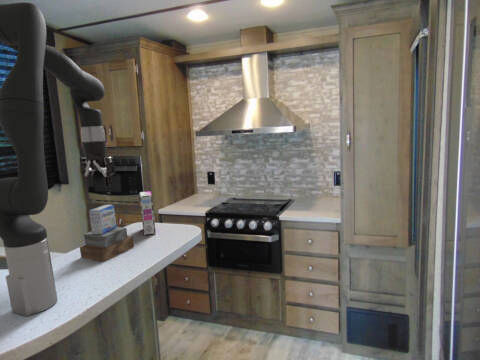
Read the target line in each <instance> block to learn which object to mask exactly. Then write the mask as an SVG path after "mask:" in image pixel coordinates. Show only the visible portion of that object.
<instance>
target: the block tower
mask: <svg viewBox="0 0 480 360" xmlns="http://www.w3.org/2000/svg"><path fill="white" fill-rule="evenodd" d="M83 236H84V243H85V244H83V245H81V246H79V251H80V258H82V259H87V260H93V261H97V262H106V261H108V260H110V259H113V258H114V257H117V256H119V255H121V254H123V253H124V252H126V251H129V250H131V249H134V247H135V245H134V237H133V236H128V229H127V227H122V226H116V228H114V229H112V230H111V231H109V232H107V233H105V234H92V230H91V231H89V232H86V233H83Z"/></svg>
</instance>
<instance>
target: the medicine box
mask: <svg viewBox="0 0 480 360" xmlns="http://www.w3.org/2000/svg"><path fill="white" fill-rule="evenodd" d="M88 213H89V219H90V227H91V231H92V234H105V233H107V232H109V231H111V230H112V229H114V228H116V227H117V221H116V214H115V206H114V205H113V204H103V205H100V206H98V207H95V208H91V209H90V210H89V211H88Z"/></svg>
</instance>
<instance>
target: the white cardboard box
mask: <svg viewBox="0 0 480 360" xmlns="http://www.w3.org/2000/svg"><path fill="white" fill-rule="evenodd" d="M139 202H140V203H139V204H140V205H139V206H140V213H141V221H142V230H143V236H144V237H145V236H151V235H152V236H153V235H156V225H155V223H156V222H155V213H154V204H153V203H154V202H153V195H152V191H150V190H149V191H140V192H139Z"/></svg>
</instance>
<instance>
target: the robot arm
mask: <svg viewBox="0 0 480 360" xmlns="http://www.w3.org/2000/svg"><path fill="white" fill-rule="evenodd" d="M45 19H46V18H45V16H44V14H43V13H42V11H41V9H40V8H39V7H38V6H37V5H36V4H34V3H31V2H13V3H3V4H0V42H1V43H2V44H3V45H5V46H7V47H9V48H11V49H12V50H14V51H15V52H17V56H16V60H15V62H14V64H13V67H12V68H11V69H10V71H9V72H8V74H7V77H6V78H5V79H4V81H3V83H2V85H1V88H0V127H1V129H2V131H3V133H4V134H5V137H6V138H7V139H8V141H9V143H10V144H11V146H12V148H13V150H14V152H15V155H16V159H17V176H14V177H12V176H11V177H3V178H0V239H1V240H2V242H3V243H2V244H3V247H4V254H5V258H6V263H7V264H6V265H7V269H8V274H7V275H6V276H5V280H6V288H7V291H8V298H9V301H10V307H11V313H15V314H18V315H21V316H24V317H29V316H31V315H33V314H37V313H41V312H43V311H46V310H47V309H51V307H53V306H54V305H56V303H57V302H58V295H57V294H58V293H57V292H58V291H57V290H56V289H57V288H56V283H55V277H54V270H53V264H52V258H51V257H52V256H51V252H50V245H49V240H48V239H49V238H48V233H47V229H46V227H45V225H42V224H40V223H38V222H36V221H35V220H33V219H32V218H31V217H30V216H34V215H38V214H41V213H42V212H43V211H44V210H45V208H46V206H47V204H48V200H49V185H48V176H47V168H46V160H45V159H46V158H45V143H44V142H45V141H44V120H45V119H44V118H45V117H44V116H45V114H44V111H45V110H44V107H45V106H44V70H46V71H47V72H49V73H50V74H51V75H53V76H54V77H55V78H56V79H57V80H58V81H59V82H61V83H62V85H64V86H65V87H67V88H69V93H70V96H71V99H72V101H73V104H74V106H75V108H76V111H77V113H78V117H79V124H80V138H81V147H82V153H83V155H84V157H80V158H79V167H80V169H79V170H80V174H81V175H84V176H85V179H86V184H87V187H88V188H92V187H95V180H94V172H96V171H99V172H100V173H101V174H102V175H103V181H104V187H105V188H107V189H108V188H112V183H113V181H112V176H113V175H116V172H117V171H116V167H115V161H114V157H113V156H108V157H107V156H106V154H107V153H108V149H107V141H106V134H105V130H104V123H103V122H104V121H103V115H102V112H101V109H97V108H92V107H90V105H89V104H88V103H89V102H97V101H101V100H103V98H104V97H105V94H106V92H105V91H106V90H105V87H104V85H103V83H102V82H101V80H99V79H98V78H97V77H96V76H94V75H92V74H91V73H88V72H86V71H84V70H83V69H81V68H80V67H79V66H78V64H77V63H75V62H74V61H73V59H71V58H70V57H69V56H67V55H66V54H64V53H63V52H60V51H58V50H56V49H54V48H52V47H50V46H48V45H47V25H46V24H47V23H46V20H45Z"/></svg>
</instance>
